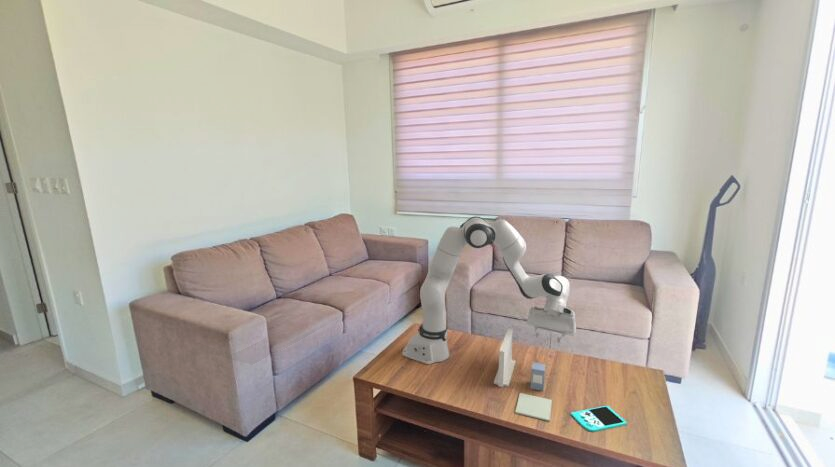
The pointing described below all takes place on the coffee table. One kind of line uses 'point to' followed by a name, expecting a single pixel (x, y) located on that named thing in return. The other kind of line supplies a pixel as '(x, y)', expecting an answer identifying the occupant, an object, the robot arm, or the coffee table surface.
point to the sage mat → (534, 406)
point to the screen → (505, 361)
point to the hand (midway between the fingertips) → (547, 339)
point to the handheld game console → (598, 418)
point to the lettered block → (538, 376)
